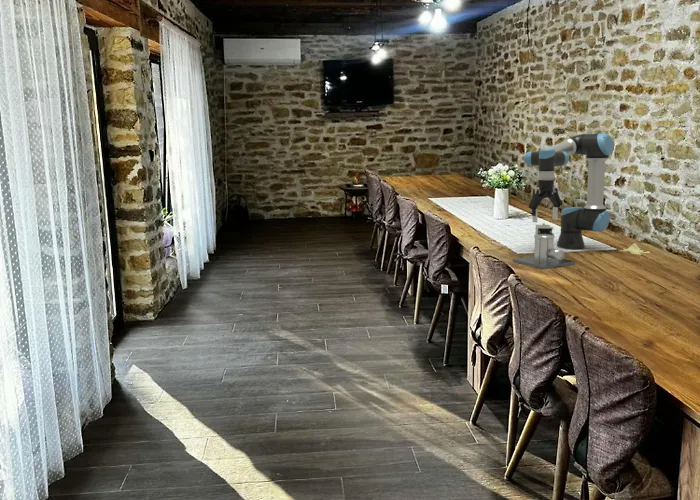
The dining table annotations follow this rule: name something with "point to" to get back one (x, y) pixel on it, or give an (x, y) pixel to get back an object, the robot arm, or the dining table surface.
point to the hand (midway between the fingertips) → (545, 221)
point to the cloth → (634, 249)
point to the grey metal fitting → (546, 249)
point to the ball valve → (544, 229)
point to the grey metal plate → (543, 265)
